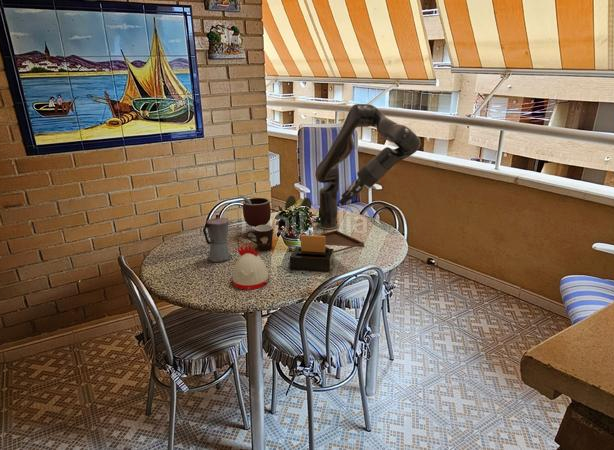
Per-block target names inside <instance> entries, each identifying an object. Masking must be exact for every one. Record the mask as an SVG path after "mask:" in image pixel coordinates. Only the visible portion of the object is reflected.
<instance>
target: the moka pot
mask: <svg viewBox="0 0 614 450" xmlns="http://www.w3.org/2000/svg"><path fill="white" fill-rule="evenodd" d="M229 223H230V221H229V218H228V217H220V215H219V214H215V217H213V218H208V220H207V221H205V224H204V227H203V229H202V233H203V235H204V238H205V241H206V244H207V245H209V255H208V257H209V258H208V259H209V261H211V262H215V263H220V262H226V261H228V260H229V259H230V254H229V253H230V252H229V246H228V236H229V225H230V224H229ZM213 260H214V261H213Z"/></svg>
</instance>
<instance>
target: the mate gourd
mask: <svg viewBox="0 0 614 450" xmlns="http://www.w3.org/2000/svg"><path fill="white" fill-rule="evenodd" d="M239 197H241V198H242V199H243V204H242V216H243V219H244V222H245V223H246V224H247V225H248V226H250V227H254V228H255V227H256V226H259V225H268V223H269V222H270V220H271V215H272V210H271V209H272V208H271V202H270V199H268V198H265V197H251V198H248V197H247V196H245V195H242V194H239ZM254 228H251V229H248V230H247V231H246V232H245V235H247V233H248V232H249V231H253V232H255V230H254ZM247 236H248V237H249V238H255V239H256V236H255V235H254V234H253V233H248V235H247ZM247 236H246V237H247Z"/></svg>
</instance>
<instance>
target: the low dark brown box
mask: <svg viewBox="0 0 614 450" xmlns="http://www.w3.org/2000/svg"><path fill="white" fill-rule="evenodd" d="M328 248H329V247H328ZM328 248H325V252H310V251H301V246H295V247H294V249H293V250H292V251H291V252H290V256H289V270H290V271H299V272H304V271H305V272H316V273H331V269H332V267H333V264H334V262H335V261H334V257H335V255H334V254H335V253H334V251H335V250H334V248H330V249H328Z"/></svg>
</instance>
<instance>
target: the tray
mask: <svg viewBox="0 0 614 450" xmlns="http://www.w3.org/2000/svg"><path fill="white" fill-rule="evenodd" d="M318 235H319V236H325V248H328V249H331V248H330V247H328V246H338V247H343V248H339V249H336V250H334V254H335V253H339V252H343V251H346V250H349V249H353V248H355V247H357V248H365V242H363V241H360V240H358V239H356V238H354V237H352V236H349V234H345V233H343V232H341V231H339V230H332V231H327V232H324V233H319V234H318Z"/></svg>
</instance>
